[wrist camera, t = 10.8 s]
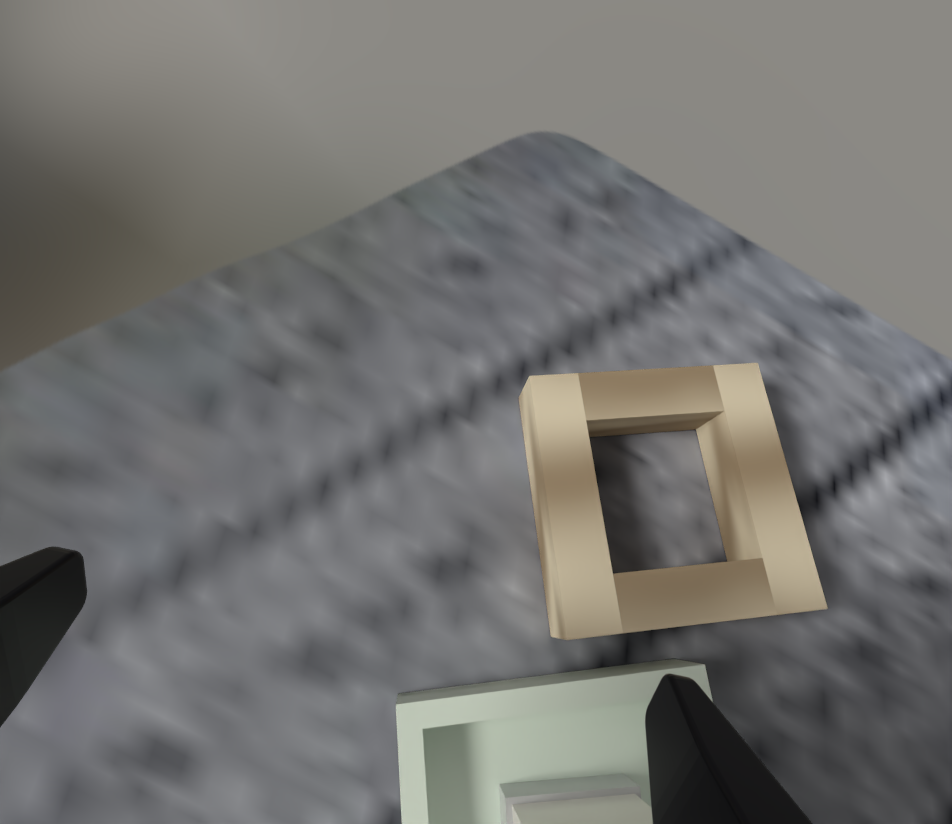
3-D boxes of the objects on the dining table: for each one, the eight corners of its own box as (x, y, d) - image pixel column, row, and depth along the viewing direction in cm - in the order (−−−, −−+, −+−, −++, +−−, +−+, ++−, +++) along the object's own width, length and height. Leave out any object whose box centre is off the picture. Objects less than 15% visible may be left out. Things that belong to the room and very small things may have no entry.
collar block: (785, 609, 23) (828, 608, 21) (551, 636, 22) (567, 639, 19) (727, 385, 26) (757, 362, 24) (518, 398, 25) (529, 376, 22)
